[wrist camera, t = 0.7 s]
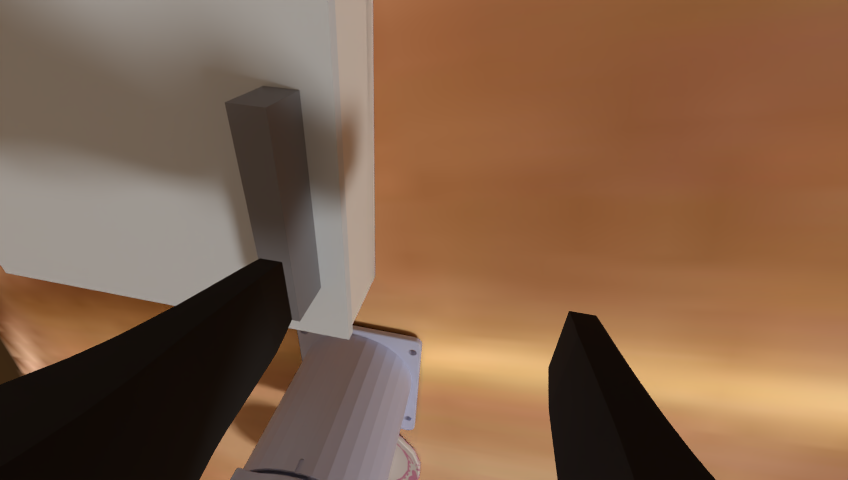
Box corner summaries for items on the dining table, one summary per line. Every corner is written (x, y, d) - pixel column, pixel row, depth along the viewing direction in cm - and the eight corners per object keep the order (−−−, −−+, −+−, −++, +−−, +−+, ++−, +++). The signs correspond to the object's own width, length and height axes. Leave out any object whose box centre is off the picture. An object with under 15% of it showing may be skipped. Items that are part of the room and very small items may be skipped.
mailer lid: (352, 331, 19) (332, 375, 17) (16, 267, 21) (-39, 298, 19) (333, -21, 11) (291, -20, 9) (-200, -64, 13) (-333, -71, 11)
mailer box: (375, 276, 22) (351, 327, 19) (92, 226, 24) (26, 265, 21) (372, -25, 14) (330, -25, 11) (-45, -58, 16) (-184, -67, 13)
